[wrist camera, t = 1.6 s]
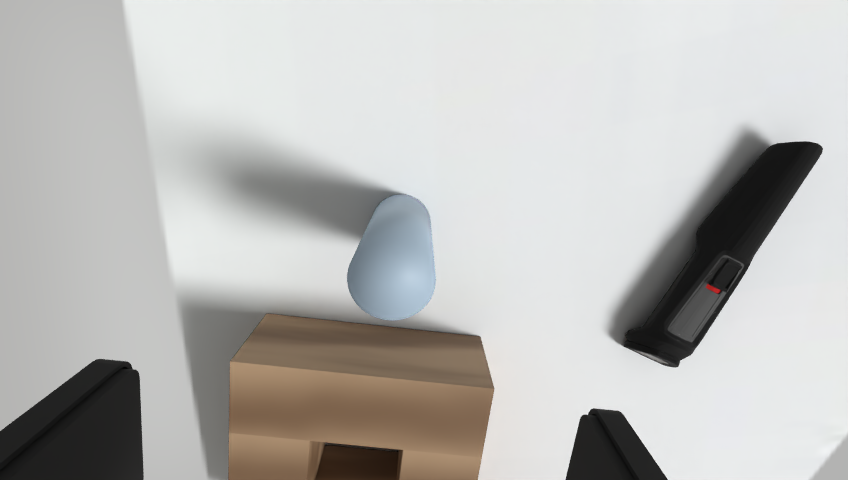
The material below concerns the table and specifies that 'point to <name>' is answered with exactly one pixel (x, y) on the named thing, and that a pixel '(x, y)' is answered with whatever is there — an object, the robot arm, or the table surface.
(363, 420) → the socket block
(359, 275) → the peg
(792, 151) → the electric trimmer
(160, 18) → the table surface
